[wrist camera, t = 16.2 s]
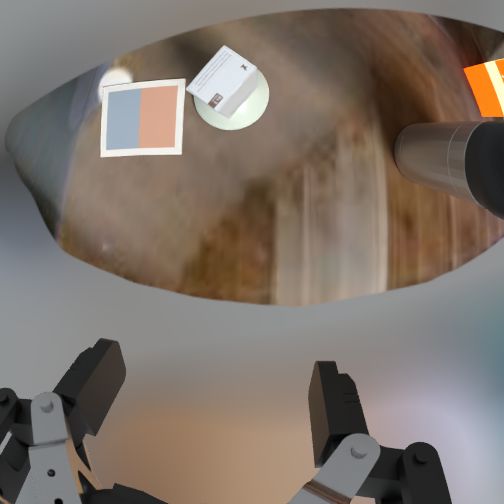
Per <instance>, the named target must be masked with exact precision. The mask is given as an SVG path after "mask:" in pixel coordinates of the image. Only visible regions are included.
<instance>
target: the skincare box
mask: <svg viewBox="0 0 504 504" xmlns="http://www.w3.org/2000/svg"><path fill="white" fill-rule="evenodd" d="M257 88H258V79H257V67H256V66H254V65H253V64H251V63H250V62H249V61H247V60H246V59H244V58H243V57H241V56H240V55H238V54H237V53H235V52H234V51H232V50H231V49H230V48H228V47H227V46H225V45H223V46H222V48H221V49H220V50H219V51H218V52H217V53H216V54H215V55H214V56H213V58H212V59H211V60H210V61H209V62H208V63H207V64H206V65H205V67H204V68H203V69H202V70H201V71H200V72H199V74H198V75H197V76H196V77H195V78H194V80H193V81H192V82H191V83H190V84H189V86H188V87H187V88H186V90H187V91H188V92H190V93H191V94H193V95H194V96H195V97H197V98H198V99H200V100H201V101H202V102H204V103H205V104H206V105H208V106H209V107H210V108H212V109H213V110H214V111H216V112H218V113H220V114H221V115H223V116H225V117H227V118H228V119H230V118H231V117H232V116H233V115H234V113H235V112H236V111H237V110H238V109H239V108H240V107H241V105H242V104H243V103H244V102H245V101H246V100H247V99H248V98H249V97H250V96H251V94H252V93H253V92H254V91H255V90H256V89H257Z"/></svg>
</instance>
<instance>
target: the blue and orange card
mask: <svg viewBox="0 0 504 504" xmlns="http://www.w3.org/2000/svg"><path fill="white" fill-rule="evenodd" d="M185 83H186V79H169V80H156V81H146V82H137V83H128V84H121V85H114V86H108V87H104V89H103V102H102V120H101V157H110V156H130V155H167V154H182V133H183V113H184V97H185Z"/></svg>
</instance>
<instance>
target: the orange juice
mask: <svg viewBox="0 0 504 504" xmlns="http://www.w3.org/2000/svg"><path fill="white" fill-rule="evenodd" d="M464 71H465V73H466V76H467V78H468V80H469V83H470V85H471V88H472V90H473V93H474V95H475V98H476V100H477V103H478V106H479V109H480V111H481V114H482V117H492V116H504V59H500V60H495V61H491V62H487V63H483V64H479V65H475V66H472V67H468V68H464Z"/></svg>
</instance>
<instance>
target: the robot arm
mask: <svg viewBox="0 0 504 504" xmlns="http://www.w3.org/2000/svg"><path fill="white" fill-rule="evenodd" d="M394 156H395V162H396V164H397V167H398V169H399V170H400V172H401V174H402V175H403V176H404V177H405V178H406V179H408V180H409V181H411V182H413V183H416V184H419V185H422V186H425V187H428V188H431V189H434V190H437V191H440V192H443V193H446V194H449V195H451V196H454V197H457V198H460V199H462V200H465V201H468V202H470V203H473V204H476V205H479V206H481V207H484V208H486V209H488V210H489V211H490V212H491V213H492V214H494V215H495V216H497V217H499V218H501V219H503V220H504V122H500V121H467V122H437V123H419V124H412V125H409V126H407V127H405V128H404V129H403V130H402V131H401V132H400V133H399V135H398V137H397V139H396V142H395V147H394ZM125 376H126V368H125V364H124V360H123V357H122V353H121V349H120V345H119V343H118V342H117V341H114V340H108V339H103V338H101V339H99V340H98V341H97V343H96V344H95V346H94V347H93V348H90V347H89V348H88V349H87V350H85V351H84V352H82V353H80V355H79V356H78V357H77V359H76V360H75V363H73V364H72V365H71V367H70V369H68V371H67V372H66V374H65V375H64V376H63V378H62V379H61V380H60V382H59V383H58V385H57V386H56V387H55V389H54V390H53V391H52V392H44V393H41V394H39V395H37V396H36V397H35V398H34V399H33V400H28V399H19V398H18V397H17V395H16V393H15V392H14V391H13V390H12V389H10V388H1V389H0V445H1V443H2V441H3V440H4V438H5V436H6V434H7V432H8V431H9V432H10V433H11V434H12V436H11V437H10V439H9V441H8V443H7V445H6V446H5V448H4V450H3V452H2V453H1V455H0V504H15V502H16V500H17V498H18V495H19V493H20V490H21V488H22V486H23V484H24V482H25V479H26V477H27V475H28V473H29V471H30V469H31V472H32V477H33V482H34V488H35V492H36V497H37V501H38V504H168V503H166V502H164V501H161V500H159V499H157V498H155V497H153V496H151V495H149V494H147V493H145V492H143V491H140V490H137V489H133V488H130V487H126V486H123V485H120V484H117V483H115V484H114V486H113V489H103V488H102V487H101V485H100V483H99V481H98V480H97V477H96V475H95V472H94V470H93V467H92V463H91V460H90V457H89V454H88V450H87V447H86V443H85V441H84V439H83V438H84V436H85V434H86V433H87V434H90V435H93V436H96V434H97V433H98V431H99V429H100V427H101V425H102V422H103V420H104V419H105V417H106V415H107V413H108V411H109V409H110V407H111V405H112V403H113V401H114V399H115V398H116V396H117V394H118V392H119V390H120V388H121V386H122V384H123V382H124V380H125ZM357 393H358V392H357V389H356V385H355V382H354V381H353V380H352V379H351V378H350V376H349V375H348V374H338V370H337V366H336V362H335V361H316V362H315V365H314V369H313V374H312V378H311V383H310V387H309V396H308V400H309V410H310V421H311V431H312V441H313V451H314V462H315V468H321V469H320V470H319V472H318V473H317V474H316V476H314V478H313V479H312V480H311V481H310V482H307V483H306V484H305V485H304V486H303V487H302V488H301V489H300V490H299V491H298V492H297V494H296V495H295V496H294V497H293V498H292V499H291V500H290V501H289V502H288V503H287V504H350V502H351V500H352V499H353V497H354V496H355V495H356V496H363V497H370V498H375V503H376V504H452V502H451V498H450V494H449V490H448V486H447V483H446V479H445V475H444V472H443V468H442V465H441V462H440V458H439V455H438V453H437V451H436V449H435V448H434V447H433V446H431V445H430V444H428V443H424V442H416V443H413V444H411V445H409V446H408V447H407V448H406V449H405V450H403V449H395V448H387V447H383V446H381V445H379V444H378V442H377V441H376V440H375V439H374V438H372V437H371V436H370V435H369V432H368V429H367V425H366V421H365V418H364V414H363V410H362V406H361V403H360V399H359V396H358V394H357Z"/></svg>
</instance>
